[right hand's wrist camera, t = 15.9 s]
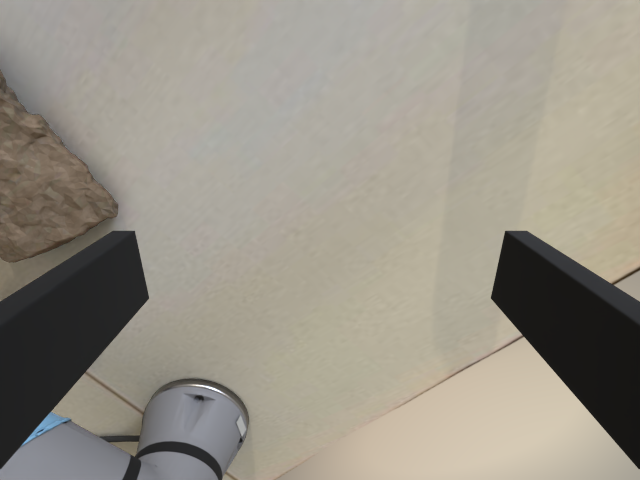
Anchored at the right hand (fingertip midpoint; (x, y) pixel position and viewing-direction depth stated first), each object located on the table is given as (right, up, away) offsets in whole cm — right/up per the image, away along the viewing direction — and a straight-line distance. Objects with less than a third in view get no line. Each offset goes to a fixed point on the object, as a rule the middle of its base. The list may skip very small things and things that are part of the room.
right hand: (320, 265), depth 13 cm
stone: (-33, +10, +26) cm, 43 cm away
